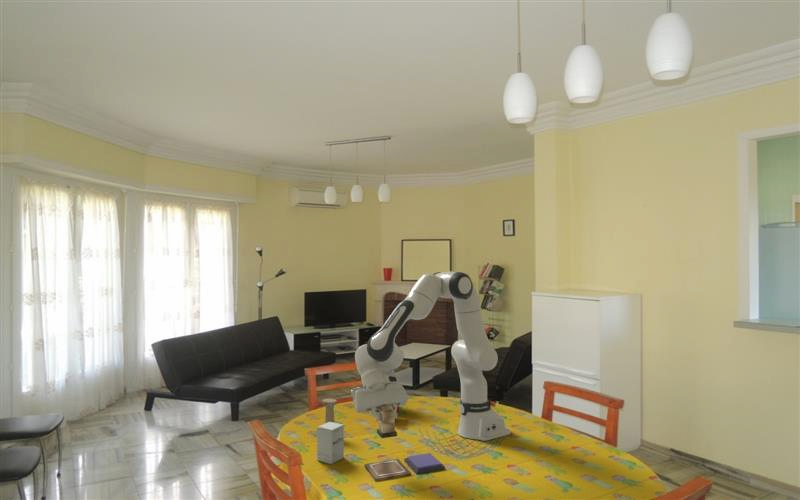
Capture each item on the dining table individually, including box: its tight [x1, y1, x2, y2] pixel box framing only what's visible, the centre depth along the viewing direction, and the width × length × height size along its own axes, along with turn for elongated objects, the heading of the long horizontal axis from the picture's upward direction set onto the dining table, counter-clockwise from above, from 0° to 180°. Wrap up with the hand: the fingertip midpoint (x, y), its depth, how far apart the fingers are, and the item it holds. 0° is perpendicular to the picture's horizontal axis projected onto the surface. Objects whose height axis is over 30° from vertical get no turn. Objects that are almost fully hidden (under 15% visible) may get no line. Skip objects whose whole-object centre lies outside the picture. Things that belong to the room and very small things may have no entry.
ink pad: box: [403, 452, 446, 475], centre depth 185 cm, size 11×12×2 cm
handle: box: [321, 398, 338, 424], centre depth 216 cm, size 5×6×15 cm
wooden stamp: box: [376, 405, 398, 439], centre depth 181 cm, size 6×6×10 cm
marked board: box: [364, 458, 412, 482], centre depth 181 cm, size 13×13×1 cm
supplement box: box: [316, 422, 345, 465], centre depth 191 cm, size 7×7×13 cm
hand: (387, 418), depth 180 cm, fingers closed on wooden stamp, 5 cm apart
